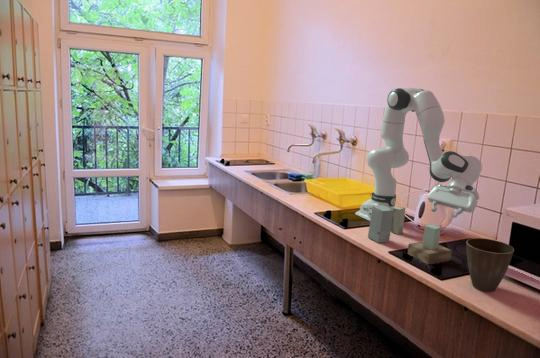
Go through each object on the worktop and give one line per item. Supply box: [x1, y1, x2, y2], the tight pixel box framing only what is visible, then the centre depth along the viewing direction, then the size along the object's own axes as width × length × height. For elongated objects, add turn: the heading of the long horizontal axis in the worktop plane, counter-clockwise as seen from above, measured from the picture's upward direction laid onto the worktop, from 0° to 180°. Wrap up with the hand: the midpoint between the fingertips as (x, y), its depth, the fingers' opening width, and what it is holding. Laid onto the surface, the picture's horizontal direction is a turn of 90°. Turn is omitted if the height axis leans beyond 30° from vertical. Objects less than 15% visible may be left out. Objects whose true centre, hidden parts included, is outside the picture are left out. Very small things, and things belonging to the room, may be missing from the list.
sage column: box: [422, 224, 441, 250], centre depth 172 cm, size 4×4×9 cm
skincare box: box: [367, 205, 394, 244], centre depth 191 cm, size 8×7×16 cm
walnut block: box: [407, 241, 453, 265], centre depth 173 cm, size 12×12×5 cm
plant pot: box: [465, 237, 515, 293], centre depth 147 cm, size 15×15×16 cm
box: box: [390, 205, 406, 235], centre depth 202 cm, size 5×4×13 cm
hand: (443, 213), depth 175 cm, fingers open, 8 cm apart
